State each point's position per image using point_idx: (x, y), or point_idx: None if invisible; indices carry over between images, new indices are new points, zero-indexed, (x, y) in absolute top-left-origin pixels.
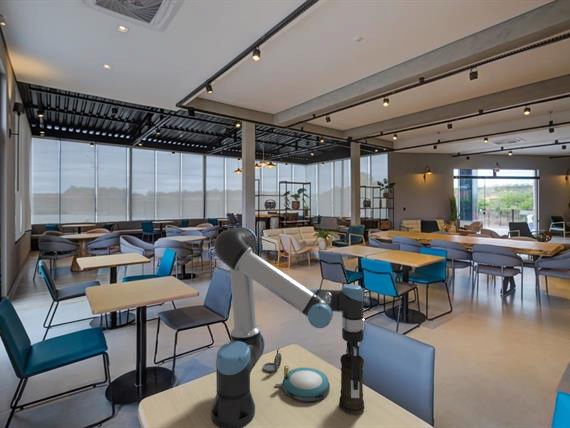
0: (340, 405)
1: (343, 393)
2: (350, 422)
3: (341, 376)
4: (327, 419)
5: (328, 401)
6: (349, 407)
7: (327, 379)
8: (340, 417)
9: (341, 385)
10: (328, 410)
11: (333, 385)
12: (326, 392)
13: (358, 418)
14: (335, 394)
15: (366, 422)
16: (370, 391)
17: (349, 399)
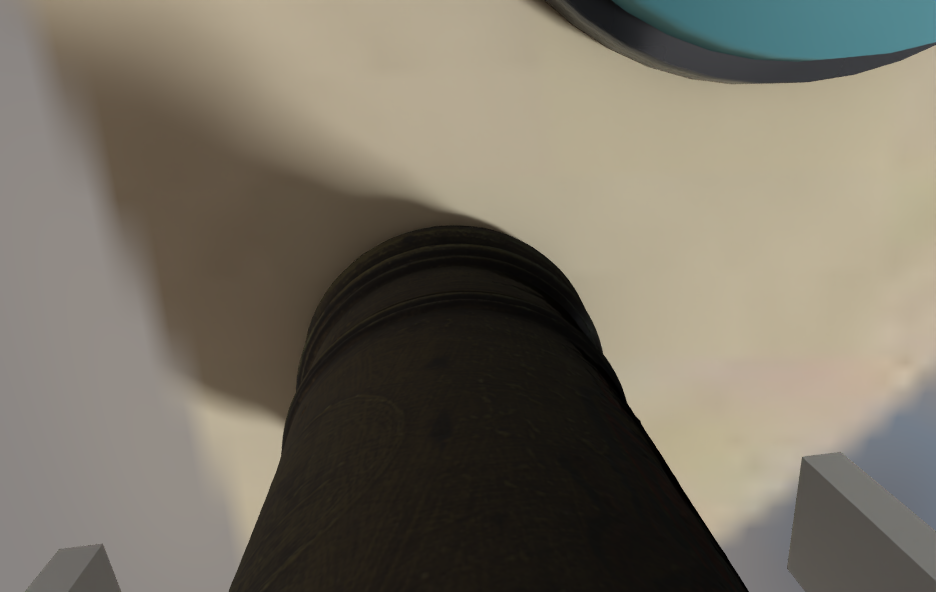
0: (389, 246)
1: (340, 361)
2: (182, 347)
3: (408, 516)
4: (131, 78)
5: (501, 77)
6: (298, 373)
7: (904, 36)
8: (228, 241)
9: (411, 373)
10: (314, 85)
11: (852, 135)
12: (626, 36)
13: (275, 421)
14: (659, 168)
15: (240, 488)
16: (731, 527)
17: (286, 427)
